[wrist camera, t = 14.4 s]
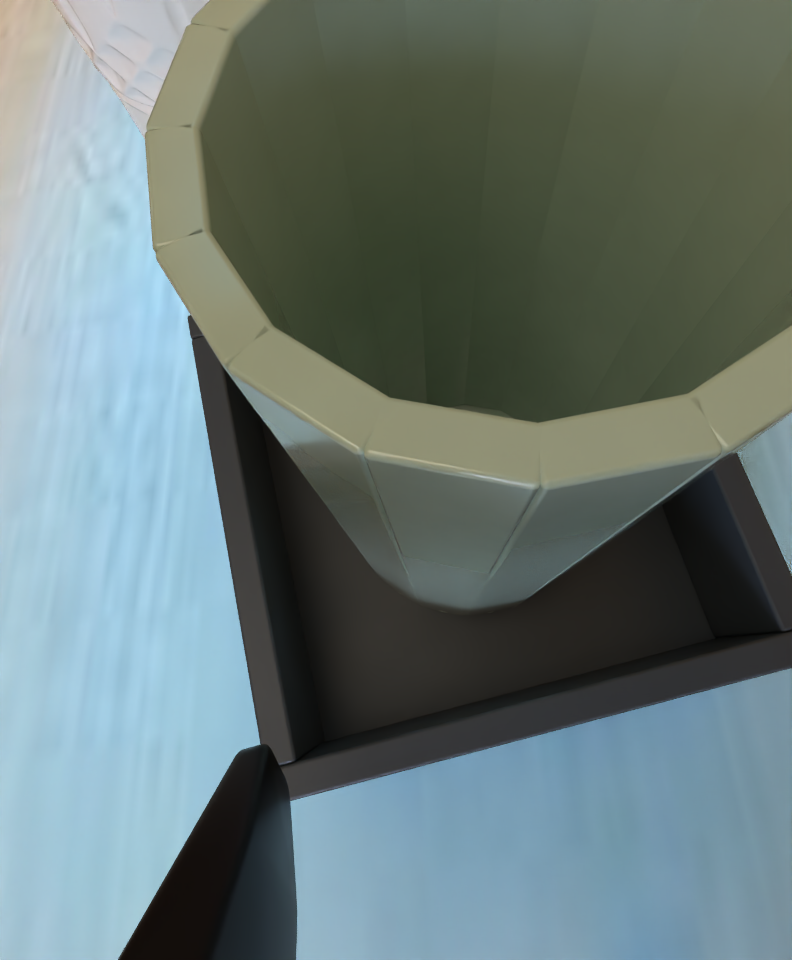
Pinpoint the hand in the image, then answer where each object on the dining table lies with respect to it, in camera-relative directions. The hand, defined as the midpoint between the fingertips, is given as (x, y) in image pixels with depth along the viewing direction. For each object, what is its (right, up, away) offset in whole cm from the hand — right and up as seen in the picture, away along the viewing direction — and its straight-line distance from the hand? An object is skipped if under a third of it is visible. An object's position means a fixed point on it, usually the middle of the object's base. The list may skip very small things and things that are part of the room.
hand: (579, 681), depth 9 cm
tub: (-1, +2, +9) cm, 10 cm away
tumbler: (-1, +2, +9) cm, 9 cm away
